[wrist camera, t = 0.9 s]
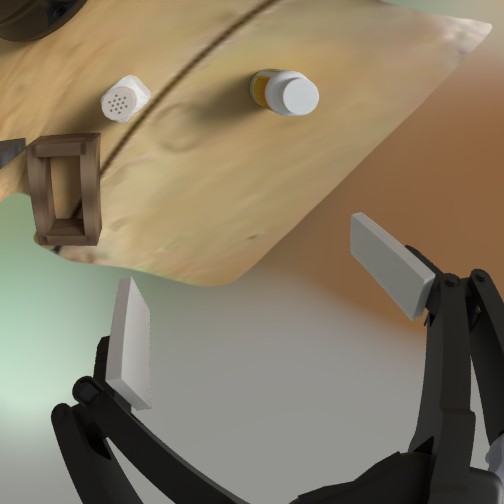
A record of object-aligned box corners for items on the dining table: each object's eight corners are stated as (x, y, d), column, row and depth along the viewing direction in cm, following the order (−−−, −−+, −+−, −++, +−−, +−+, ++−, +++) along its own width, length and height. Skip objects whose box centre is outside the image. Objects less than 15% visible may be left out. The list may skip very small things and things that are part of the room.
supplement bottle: (265, 115, 34) (295, 132, 26) (240, 84, 30) (264, 91, 23) (296, 92, 33) (334, 103, 25) (273, 61, 29) (307, 62, 22)
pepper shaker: (128, 116, 29) (115, 133, 22) (109, 95, 26) (88, 105, 19) (153, 94, 28) (148, 104, 21) (133, 72, 26) (121, 74, 18)
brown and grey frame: (-7, 142, 23) (-77, 198, 10) (100, 133, 29) (56, 186, 16) (6, 228, 31) (-37, 305, 18) (102, 227, 37) (81, 315, 24)
